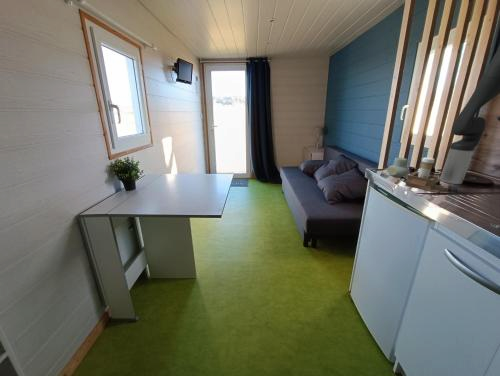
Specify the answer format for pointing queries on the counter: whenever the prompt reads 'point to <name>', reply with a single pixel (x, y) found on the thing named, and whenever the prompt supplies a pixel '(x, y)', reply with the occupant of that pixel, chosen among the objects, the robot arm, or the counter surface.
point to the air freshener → (398, 168)
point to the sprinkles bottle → (426, 167)
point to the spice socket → (423, 183)
